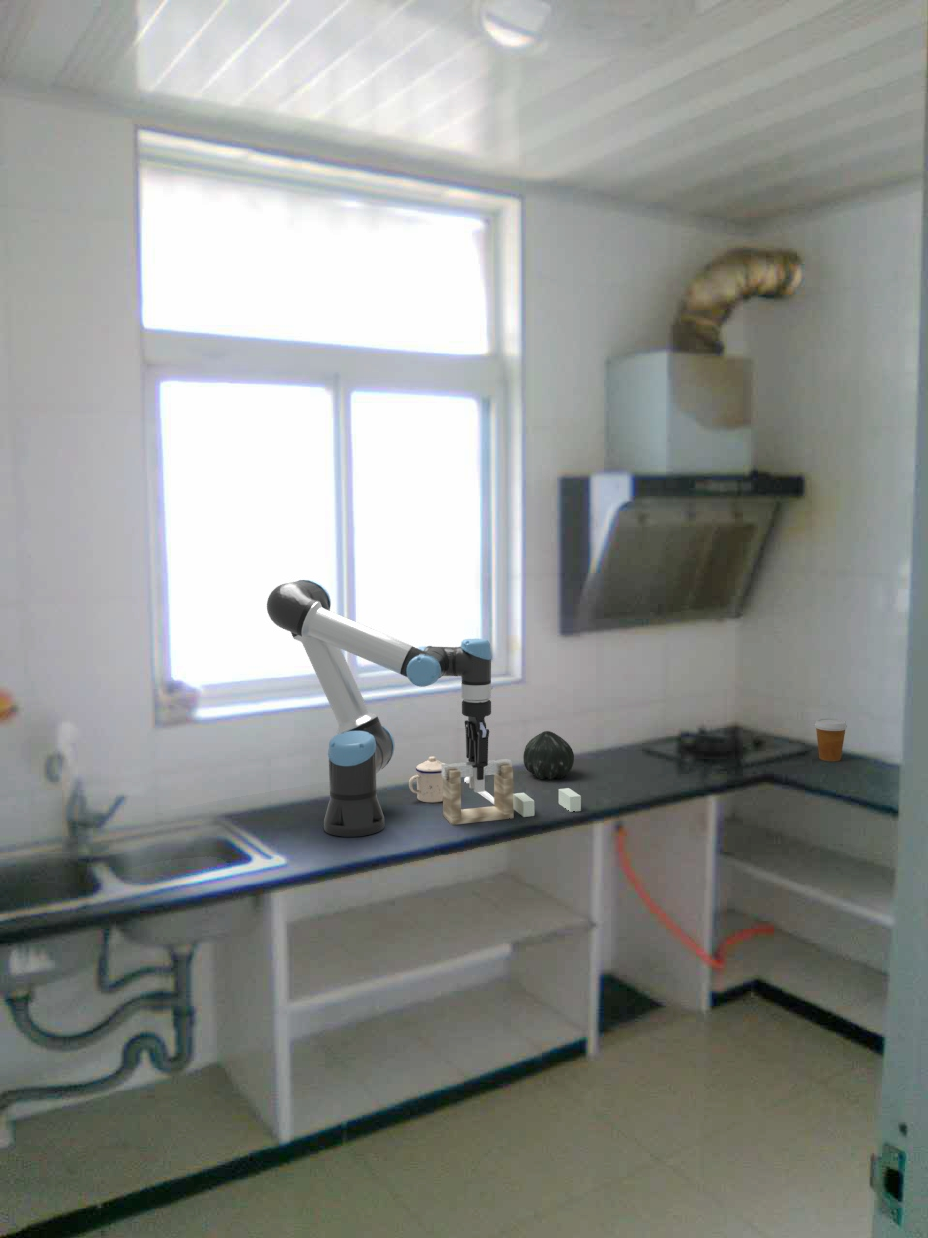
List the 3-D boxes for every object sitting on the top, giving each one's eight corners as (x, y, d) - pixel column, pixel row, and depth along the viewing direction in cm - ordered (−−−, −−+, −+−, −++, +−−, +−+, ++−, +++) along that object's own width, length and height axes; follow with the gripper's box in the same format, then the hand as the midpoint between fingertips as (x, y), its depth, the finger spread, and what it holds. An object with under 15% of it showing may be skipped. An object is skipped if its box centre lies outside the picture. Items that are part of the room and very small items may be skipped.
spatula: (508, 806, 266) (508, 796, 266) (494, 808, 265) (494, 798, 264) (475, 780, 293) (475, 771, 292) (462, 782, 291) (462, 772, 291)
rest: (523, 817, 255) (523, 802, 255) (513, 808, 263) (512, 793, 262) (580, 810, 260) (580, 796, 259) (568, 802, 268) (568, 788, 267)
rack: (451, 824, 250) (450, 772, 248) (443, 815, 257) (442, 765, 256) (513, 818, 254) (513, 766, 253) (503, 809, 262) (502, 759, 261)
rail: (444, 778, 251) (444, 767, 250) (441, 775, 254) (441, 764, 253) (511, 773, 256) (511, 761, 256) (508, 770, 259) (507, 758, 259)
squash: (559, 749, 306) (533, 717, 299) (590, 760, 293) (565, 727, 286) (531, 784, 301) (504, 753, 294) (562, 797, 289) (535, 765, 282)
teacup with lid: (438, 792, 280) (437, 751, 279) (455, 799, 272) (455, 757, 271) (401, 799, 273) (400, 757, 272) (418, 807, 266) (417, 764, 264)
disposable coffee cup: (815, 762, 307) (816, 724, 305) (812, 754, 316) (813, 717, 315) (848, 763, 304) (849, 725, 303) (843, 756, 314) (844, 718, 312)
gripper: (500, 704, 246) (501, 796, 249) (480, 693, 261) (481, 780, 264) (471, 706, 244) (472, 799, 246) (453, 695, 259) (454, 782, 262)
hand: (477, 789), depth 255 cm, fingers closed on rail, 3 cm apart
